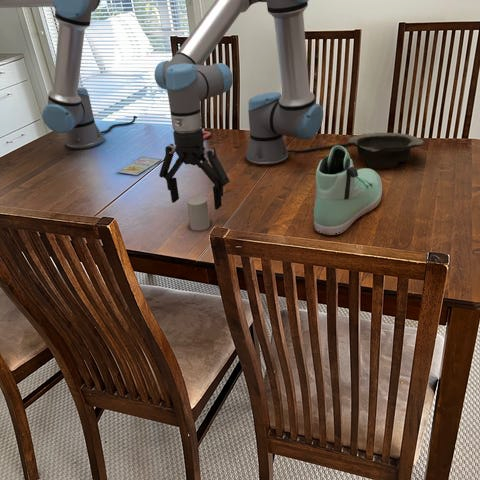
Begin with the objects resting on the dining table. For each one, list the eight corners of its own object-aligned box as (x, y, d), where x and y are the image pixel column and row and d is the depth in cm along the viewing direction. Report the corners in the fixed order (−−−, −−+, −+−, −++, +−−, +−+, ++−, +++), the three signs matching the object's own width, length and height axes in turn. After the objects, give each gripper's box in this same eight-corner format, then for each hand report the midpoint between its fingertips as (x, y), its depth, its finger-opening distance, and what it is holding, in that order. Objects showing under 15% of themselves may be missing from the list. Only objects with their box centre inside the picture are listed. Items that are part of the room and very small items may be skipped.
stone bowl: (381, 179, 153) (381, 151, 149) (333, 161, 173) (332, 136, 169) (438, 160, 162) (440, 133, 157) (386, 145, 182) (386, 120, 178)
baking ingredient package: (117, 171, 173) (141, 156, 185) (117, 172, 174) (141, 158, 185) (136, 174, 170) (160, 159, 181) (136, 175, 170) (160, 160, 181)
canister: (188, 230, 135) (184, 204, 130) (193, 220, 139) (190, 195, 135) (207, 231, 134) (203, 205, 129) (212, 221, 138) (209, 195, 134)
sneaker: (389, 187, 148) (396, 123, 138) (356, 242, 123) (361, 168, 112) (346, 181, 154) (350, 119, 144) (306, 232, 129) (307, 161, 118)
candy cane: (179, 144, 195) (179, 141, 194) (202, 133, 205) (202, 129, 204) (191, 147, 192) (190, 143, 191) (213, 135, 202) (213, 131, 201)
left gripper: (-92, 38, 165) (-67, 100, 176) (-14, 29, 172) (5, 89, 183) (-88, 35, 171) (-65, 95, 182) (-13, 27, 178) (5, 85, 189)
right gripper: (138, 130, 124) (151, 203, 135) (225, 138, 114) (231, 216, 125) (154, 121, 129) (165, 192, 140) (238, 128, 120) (243, 204, 131)
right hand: (196, 204), depth 133 cm, fingers open, 13 cm apart
